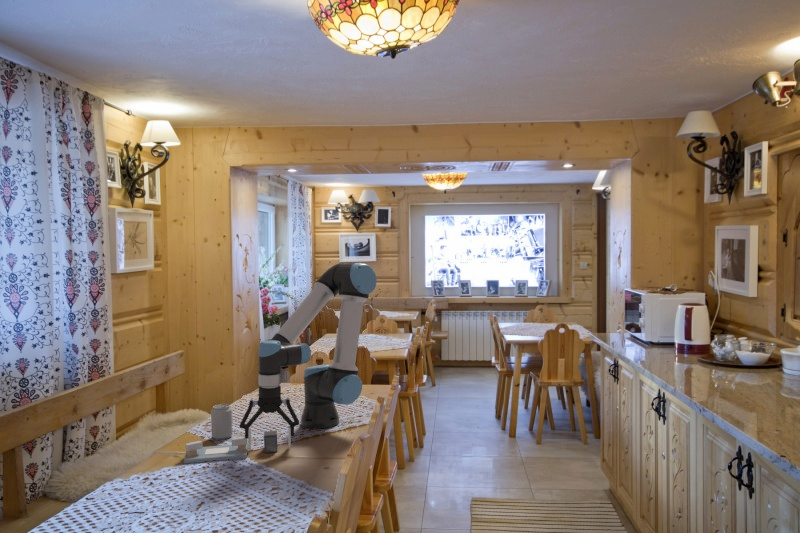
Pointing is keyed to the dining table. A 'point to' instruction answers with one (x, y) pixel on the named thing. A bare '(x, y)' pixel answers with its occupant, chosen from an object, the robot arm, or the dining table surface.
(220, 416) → the can
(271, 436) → the stepped grey block
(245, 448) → the rig
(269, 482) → the dining table surface
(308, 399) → the robot arm
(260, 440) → the dining table surface
